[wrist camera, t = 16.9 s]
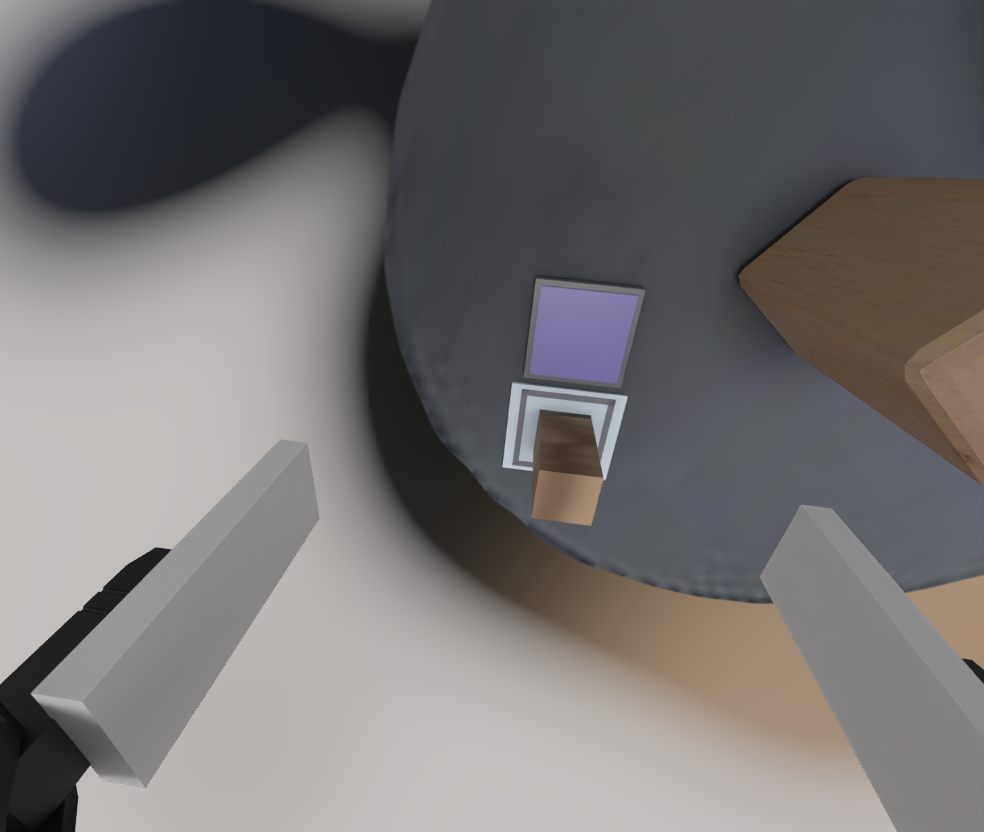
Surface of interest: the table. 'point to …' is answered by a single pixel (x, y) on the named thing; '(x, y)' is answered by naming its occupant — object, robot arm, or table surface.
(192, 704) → the robot arm
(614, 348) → the ink pad
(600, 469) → the stamp
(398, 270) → the table surface
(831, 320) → the wooden block
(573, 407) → the print card
